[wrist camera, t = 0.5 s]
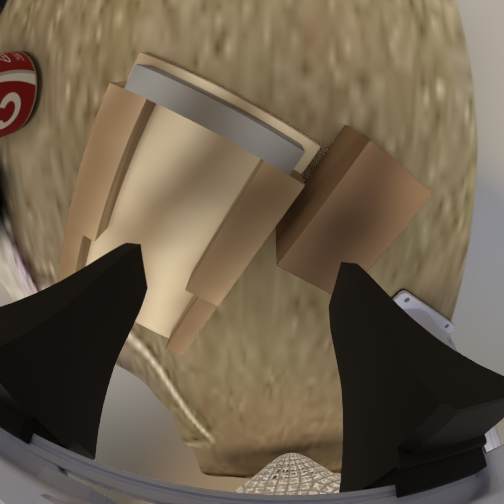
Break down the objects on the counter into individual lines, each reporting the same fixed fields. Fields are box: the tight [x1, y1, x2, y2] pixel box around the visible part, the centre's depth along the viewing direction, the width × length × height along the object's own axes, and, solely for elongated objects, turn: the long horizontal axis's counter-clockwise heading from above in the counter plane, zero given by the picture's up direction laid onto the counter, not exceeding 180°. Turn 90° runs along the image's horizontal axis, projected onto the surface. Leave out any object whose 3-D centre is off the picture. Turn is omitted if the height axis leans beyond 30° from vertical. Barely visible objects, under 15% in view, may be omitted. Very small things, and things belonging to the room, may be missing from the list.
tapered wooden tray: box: [58, 52, 320, 356], centre depth 19 cm, size 12×20×3 cm, turn 149°
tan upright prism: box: [276, 125, 432, 294], centre depth 17 cm, size 4×8×5 cm, turn 150°
